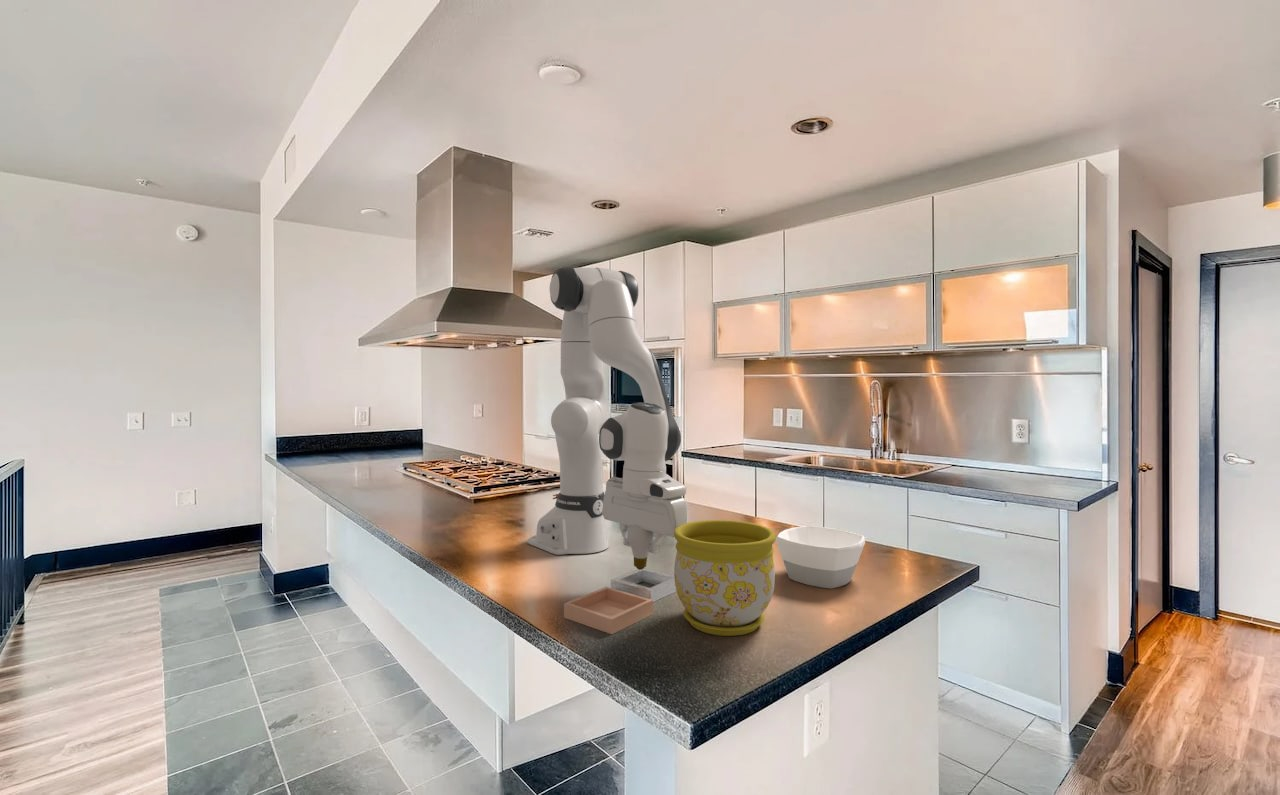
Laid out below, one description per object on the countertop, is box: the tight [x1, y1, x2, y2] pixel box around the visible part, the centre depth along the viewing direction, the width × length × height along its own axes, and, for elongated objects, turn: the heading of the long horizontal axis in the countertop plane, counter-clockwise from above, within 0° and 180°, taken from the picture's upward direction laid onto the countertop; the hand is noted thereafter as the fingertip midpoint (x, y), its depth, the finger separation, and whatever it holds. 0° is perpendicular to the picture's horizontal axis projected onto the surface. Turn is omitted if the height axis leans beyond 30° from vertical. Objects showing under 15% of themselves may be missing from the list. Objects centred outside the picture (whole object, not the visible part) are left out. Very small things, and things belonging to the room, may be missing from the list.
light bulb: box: [627, 525, 656, 570], centre depth 124 cm, size 6×6×10 cm
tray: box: [563, 586, 654, 635], centre depth 111 cm, size 12×12×3 cm
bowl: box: [775, 525, 866, 590], centre depth 132 cm, size 18×18×9 cm
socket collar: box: [610, 567, 677, 603], centre depth 125 cm, size 10×10×2 cm
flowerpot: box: [673, 519, 777, 637], centre depth 108 cm, size 18×18×16 cm
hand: (641, 549), depth 125 cm, fingers closed on light bulb, 5 cm apart
